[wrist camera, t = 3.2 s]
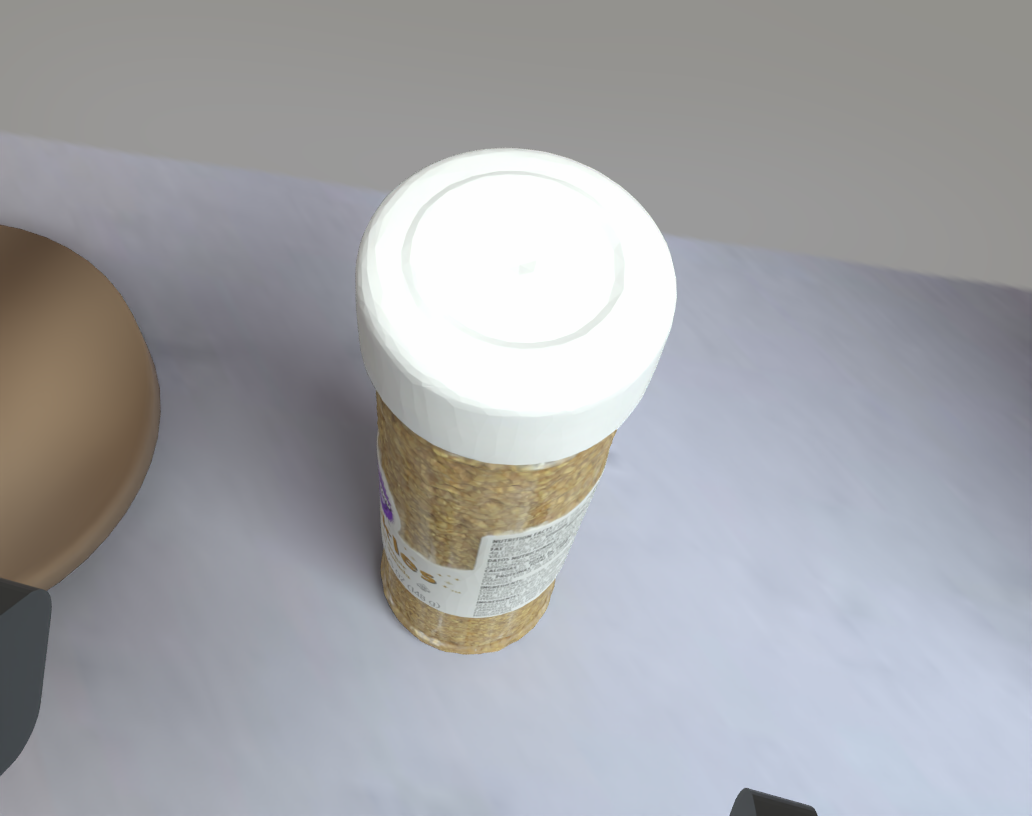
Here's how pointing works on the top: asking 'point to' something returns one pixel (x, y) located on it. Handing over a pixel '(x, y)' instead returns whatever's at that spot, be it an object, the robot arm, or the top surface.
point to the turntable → (66, 408)
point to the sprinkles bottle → (500, 377)
